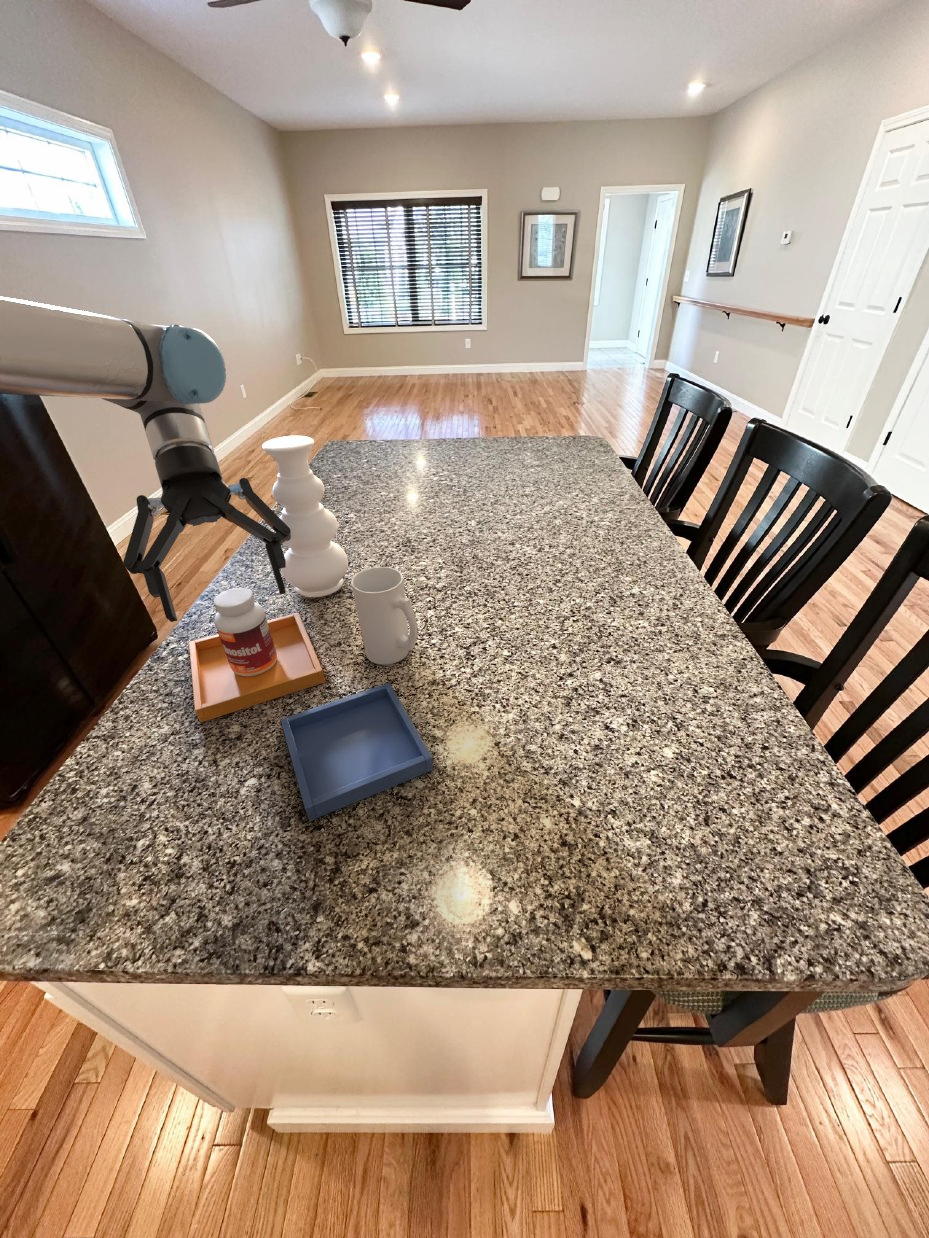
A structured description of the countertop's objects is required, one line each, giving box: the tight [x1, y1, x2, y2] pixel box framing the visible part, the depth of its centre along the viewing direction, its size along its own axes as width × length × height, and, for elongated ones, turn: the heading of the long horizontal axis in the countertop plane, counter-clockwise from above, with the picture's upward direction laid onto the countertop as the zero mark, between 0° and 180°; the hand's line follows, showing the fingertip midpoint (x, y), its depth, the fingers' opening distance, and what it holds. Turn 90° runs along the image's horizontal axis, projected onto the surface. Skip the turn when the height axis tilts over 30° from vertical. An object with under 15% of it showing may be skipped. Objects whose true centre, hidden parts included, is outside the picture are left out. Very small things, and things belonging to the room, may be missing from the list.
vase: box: [261, 435, 349, 598], centre depth 82 cm, size 11×11×25 cm
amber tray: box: [188, 612, 326, 723], centre depth 71 cm, size 16×16×2 cm
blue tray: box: [280, 682, 434, 822], centre depth 58 cm, size 14×14×2 cm
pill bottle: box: [213, 587, 277, 676], centre depth 68 cm, size 6×6×11 cm
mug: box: [350, 566, 419, 666], centre depth 69 cm, size 10×7×12 cm, turn 49°
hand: (229, 605), depth 67 cm, fingers open, 13 cm apart
